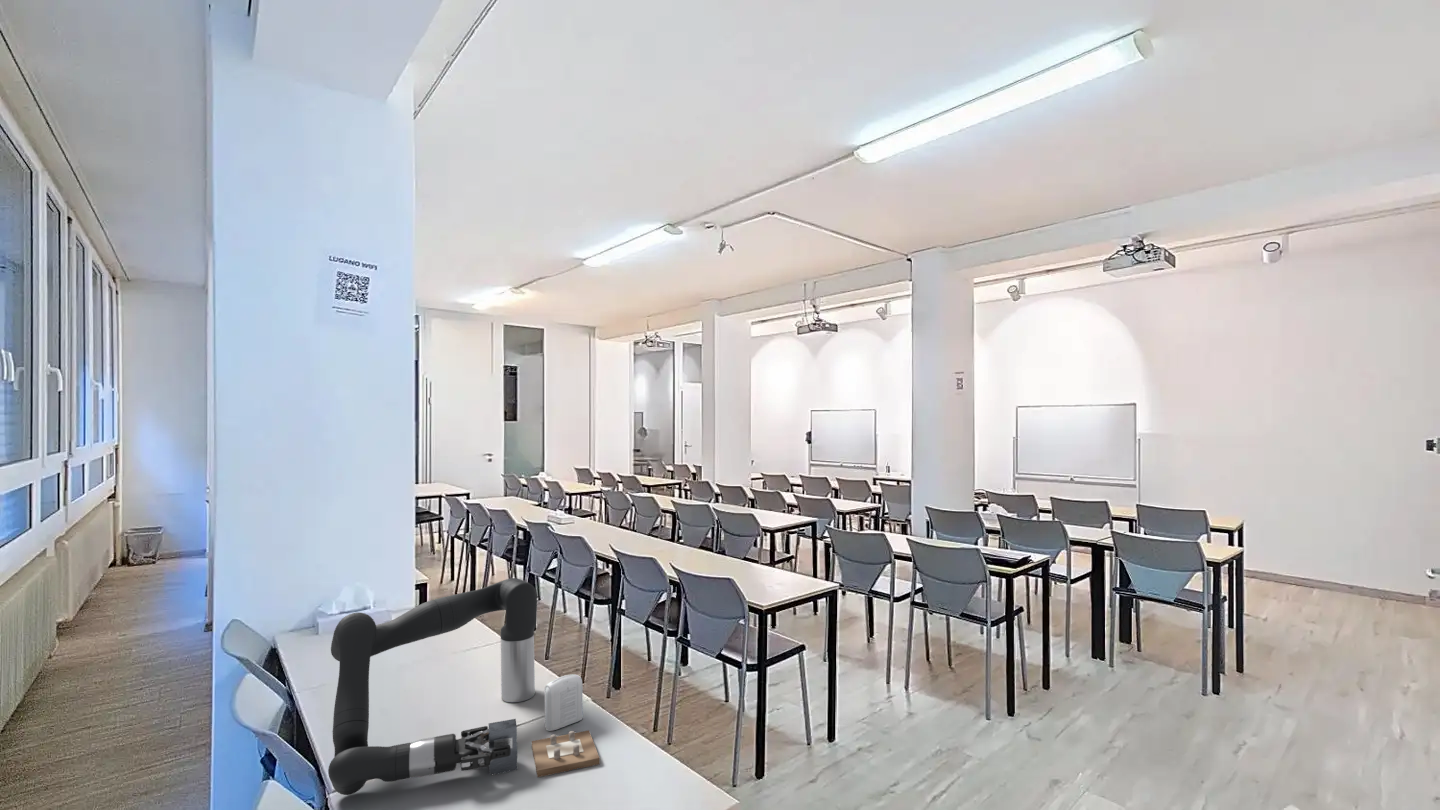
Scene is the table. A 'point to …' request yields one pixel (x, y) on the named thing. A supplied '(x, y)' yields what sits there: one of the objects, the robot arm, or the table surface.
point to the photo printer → (563, 702)
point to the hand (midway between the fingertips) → (509, 741)
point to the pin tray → (564, 753)
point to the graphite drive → (502, 736)
